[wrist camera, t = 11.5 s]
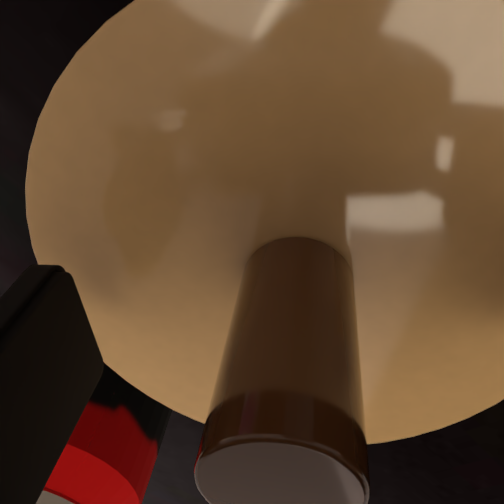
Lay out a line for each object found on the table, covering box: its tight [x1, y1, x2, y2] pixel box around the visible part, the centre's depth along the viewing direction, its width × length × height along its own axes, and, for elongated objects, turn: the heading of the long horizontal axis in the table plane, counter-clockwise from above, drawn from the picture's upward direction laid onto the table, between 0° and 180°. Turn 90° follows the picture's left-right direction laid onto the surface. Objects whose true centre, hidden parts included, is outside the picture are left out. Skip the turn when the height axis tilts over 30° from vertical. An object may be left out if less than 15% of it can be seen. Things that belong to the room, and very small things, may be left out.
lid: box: [25, 0, 504, 504], centre depth 9 cm, size 13×13×6 cm
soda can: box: [36, 362, 172, 504], centre depth 23 cm, size 8×8×12 cm
